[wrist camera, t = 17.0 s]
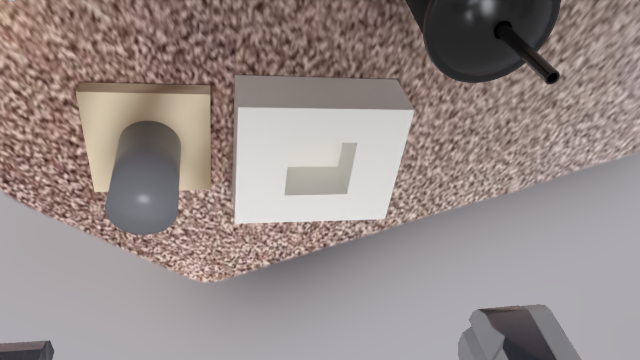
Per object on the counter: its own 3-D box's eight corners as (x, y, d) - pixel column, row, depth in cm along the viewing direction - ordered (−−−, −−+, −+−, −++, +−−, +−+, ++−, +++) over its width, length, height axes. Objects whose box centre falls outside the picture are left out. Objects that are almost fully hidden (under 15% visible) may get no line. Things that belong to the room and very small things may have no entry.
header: (397, 79, 46) (414, 110, 42) (371, 185, 53) (384, 219, 50) (234, 75, 43) (238, 107, 39) (232, 187, 50) (234, 223, 47)
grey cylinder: (179, 120, 43) (176, 183, 37) (182, 168, 46) (179, 233, 40) (115, 120, 42) (100, 184, 36) (122, 169, 45) (109, 235, 39)
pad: (209, 85, 43) (210, 94, 42) (210, 179, 49) (211, 189, 48) (79, 82, 41) (75, 91, 40) (97, 181, 47) (94, 191, 46)
